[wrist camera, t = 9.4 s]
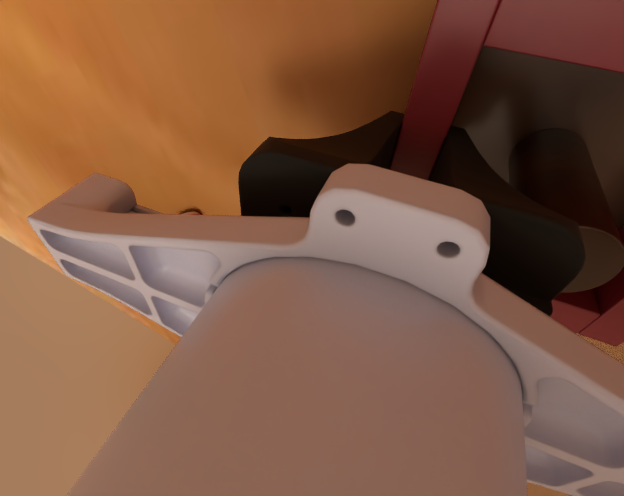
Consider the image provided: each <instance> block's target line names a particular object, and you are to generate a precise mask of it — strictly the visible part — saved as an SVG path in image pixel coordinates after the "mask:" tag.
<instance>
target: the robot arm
mask: <svg viewBox="0 0 624 496" xmlns="http://www.w3.org/2000/svg"><path fill="white" fill-rule="evenodd" d="M404 115H405V114H402V113H398V112H394V111H390V112H388V113H387V114H385V115H383V116H381V117H380V118H378V119H376V120H374V121H372V122H370V123H368V124H366V125H364V126H362V127H359V128H357V129H355V130H352V131H349V132H346V133H343V134H339V135H335V136H330V137H323V138H316V139H285V138H274V137H269V138H268V139H267V140H265V141H264V142H263V143H262V144H261V145H260V146H259V147H258V148H257V149H256V150H255V151H254V152H253V153H252V155H251V156H250V157H249V158H248V159H247V160H246V161H245V162H244V163H243V164H242V167H241V169H240V172H239V182H238V183H239V194H240V206H241V216H222V215H176V214H163V213H160V212H157V211H155V210H152V209H149V208H146V207H143V206H140V205H137V203H136V198H135V195H134V192H133V191H132V189H131V188H130V187H129V186H128V185H127V184H126V183H124V182H122V181H120V180H117V179H114V178H111V177H108V176H105V175H102V174H99V173H93V174H92V175H90V176H89V177H87V178H86V179H84V180H83V181H81V182H80V183H78V184H77V185H75V186H74V187H72V188H71V189H69V190H68V191H66V192H65V193H63V194H62V195H60V196H59V197H57V198H56V199H54V200H53V201H51V202H50V203H48V204H47V205H45V206H44V207H42V208H41V209H39V210H38V211H36V212H35V213H33V214H32V215H30V216H29V217H28V222H29V223H30V225H31V226H32V228H33V229H34V231H35V232H36V233H37V235H38V236H39V238H40V239H41V241H42V242H43V243H44V245H45V246H46V248H47V249H48V251H49V252H50V253H51V255H52V256H53V258H54V259H55V261H56V262H57V263H58V265H59V266H60V268H61V269H62V270H63V272H64V273H65V275H66V276H67V277H70V278H72V279H74V280H77V281H79V282H81V283H83V284H86V285H88V286H90V287H92V288H94V289H96V290H98V291H100V292H102V293H104V294H106V295H108V296H110V297H112V298H114V299H116V300H118V301H119V302H121V303H123V304H125V305H127V306H128V307H130V308H132V309H134V310H136V311H137V312H139V313H141V314H142V315H144V316H146V317H148V318H149V319H151V320H153V321H154V322H156V323H158V324H160V325H161V326H163V327H165V328H166V329H168V330H170V331H172V332H173V333H175V334H177V335H178V336H180V337H181V339H180V340H179V341H178V343H177V344H176V346H175V347H174V348H173V350H172V351H171V352H170V354H169V355H168V357H167V358H166V359H165V361H164V362H163V363H162V365H161V366H160V367H159V369H158V370H157V372H156V373H155V374H154V376H153V377H152V379H151V380H150V381H149V383H148V384H147V385H146V387H145V388H144V389H143V391H142V392H141V394H140V395H139V396H138V398H137V399H136V400H135V402H134V403H133V405H132V406H131V407H130V409H129V410H128V412H127V413H126V414H125V415H124V417H123V418H122V420H121V421H120V422H119V424H118V425H117V427H116V428H115V429H114V431H113V432H112V433H111V435H110V436H109V438H108V439H107V440H106V442H105V443H104V444H103V446H102V447H101V449H100V450H99V451H98V453H97V454H96V455H95V457H94V458H93V460H92V461H91V462H90V463H89V465H88V466H87V468H86V469H85V470H84V472H83V473H82V474H81V476H80V477H79V479H78V480H77V481H76V483H75V484H74V485H73V487H72V488H71V490H70V491H69V493H68V494H67V495H66V496H528V494H527V482H530V483H533V484H536V485H540V486H543V487H547V488H550V489H553V490H557V491H560V492H563V493H567V494H570V495H573V496H624V364H622V363H621V362H619V361H618V360H616V359H615V358H613V357H611V356H610V355H608V354H607V353H605V352H604V351H602V350H601V349H599V348H597V347H596V346H594V345H593V344H591V343H590V342H588V341H587V340H585V339H584V338H582V337H580V336H579V335H577V334H576V333H574V332H573V331H571V330H570V329H568V328H566V327H565V326H563V325H562V324H560V323H559V322H557V321H556V320H554V319H552V318H551V317H550V316H551V315H552V312H553V307H552V300H553V299H554V298H555V297H556V296H557V295H558V294H559V293H560V292H561V291H562V290H563V289H564V288H565V287H566V286H567V285H568V284H570V283H571V282H572V281H573V280H574V279H575V278H576V276H577V275H578V274H579V272H580V271H581V270H582V268H583V266H584V262H585V259H586V254H585V248H584V243H583V239H582V235H581V232H580V228H579V225H578V223H577V221H575V220H572V219H570V218H568V217H565V216H563V215H561V214H559V213H556V212H554V211H552V210H550V209H548V208H546V207H544V206H542V205H540V204H538V203H536V202H535V201H533V200H531V199H530V198H528V197H526V196H525V195H523V194H522V193H520V192H519V191H518V190H516V189H515V188H513V187H512V186H511V185H509V184H508V183H507V182H506V181H505V180H504V179H502V178H501V177H500V176H499V175H498V174H497V173H496V172H495V171H494V170H493V169H492V168H491V167H490V165H489V164H488V163H487V162H486V160H485V159H484V158H483V157H482V155H481V154H480V152H479V151H478V149H477V148H476V146H475V145H474V143H473V142H472V140H471V138H470V136H469V135H468V133H467V131H466V130H465V129H464V128H460V127H456V126H452V125H451V126H450V129H449V131H448V134H447V136H446V139H445V141H444V144H443V146H442V149H441V151H440V154H439V156H438V159H437V161H436V164H435V166H434V169H433V171H432V174H431V176H430V179H429V181H428V180H424V179H421V178H417V177H414V176H410V175H406V174H403V173H399V172H395V171H392V170H389V167H390V164H391V160H392V157H393V153H394V150H395V146H396V143H397V139H398V136H399V132H400V129H401V125H402V122H403V118H404Z"/></svg>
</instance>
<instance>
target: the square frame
mask: <svg viewBox="0 0 624 496" xmlns="http://www.w3.org/2000/svg"><path fill="white" fill-rule="evenodd" d="M482 45H483V46H485V47H490V48H495V49H500V50H506V51H511V52H516V53H521V54H526V55H531V56H536V57H541V58H546V59H552V60H557V61H562V62H567V63H572V64H577V65H582V66H587V67H593V68H598V69H603V70H608V71H613V72H618V73H623V74H624V0H437V3H436V7H435V10H434V14H433V17H432V21H431V24H430V28H429V31H428V35H427V38H426V42H425V45H424V49H423V52H422V56H421V59H420V63H419V66H418V70H417V73H416V77H415V80H414V84H413V87H412V91H411V94H410V98H409V101H408V105H407V108H406V111H405V115H404V118H403V122H402V125H401V129H400V132H399V136H398V139H397V143H396V146H395V150H394V153H393V157H392V160H391V164H390V167H389V170H392V171H395V172H399V173H403V174H406V175H410V176H414V177H417V178H421V179H424V180H428V181H429V179H430V176H431V174H432V171H433V169H434V166H435V164H436V161H437V159H438V156H439V154H440V151H441V149H442V146H443V144H444V141H445V139H446V136H447V134H448V131H449V129H450V126H451V124H452V121H453V119H454V116H455V113H456V111H457V108H458V106H459V103H460V101H461V98H462V96H463V93H464V91H465V88H466V86H467V83H468V81H469V78H470V76H471V73H472V71H473V68H474V66H475V63H476V61H477V58H478V56H479V53H480V51H481V48H482ZM618 232H619V235H620V237H621V240H622V243H623V245H624V226H623V227H622V228H621V229H620V230H619V231H618ZM552 307H553V312H552V315H551V316H550V317H551V318H552V319H554V320H556V321H557V322H559V323H560V324H562V325H563V326H565V327H566V328H568V329H570V330H571V331H573V332H575V333H579V334H580V335H583V336H586V337H589V338H592V339H595V340H598V341H601V342H604V343H607V344H610V345H613V346H618V345H619V344H621V343H622V342H624V266H623V268H622V270H621V271H620V272H619V273H618V274H617V275H616V276H615V277H614V278H613V279H611V280H610V281H608V282H607V283H605V284H603V285H601V286H598V287H595V288H593V289H589V290H585V291H579V292H560V293H559V294H558V295H557V296H556V297H555V298H554V299H553V300H552Z"/></svg>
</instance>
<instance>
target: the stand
mask: <svg viewBox="0 0 624 496" xmlns="http://www.w3.org/2000/svg"><path fill="white" fill-rule="evenodd" d="M451 125H452V126H456V127H460V128H464V129H465V130H466V131H467V133H468V135H469V136H470V138H471V140H472V142H473V143H474V145H475V146H476V148H477V149H478V151H479V152H480V154H481V155H482V157H483V158H484V159H485V160H486V162H487V163H488V164H489V165H490V167H491V168H492V169H493V170H494V171H495V172H496V173H497V174H498V175H499V176H500V177H501V178H502V179H504V180H505V181H506V182H507V183H508V184H509V185H511V186H512V187H513V188H515V189H516V190H518V191H519V192H520V193H522V194H523V195H525V196H526V197H528V198H530V199H531V200H533V201H535V202H536V203H538V204H540V205H542V206H544V207H546V208H548V209H550V210H552V211H554V212H556V213H559V214H561V215H563V216H565V217H568V218H570V219H572V220H575V221H577V223H578V225H579V228H580V232H581V235H582V239H583V243H584V248H585V254H586V259H585V262H584V266H583V268H582V270H581V271H580V272H579V274H578V275H577V276H576V278H575V279H574V280H573V281H572V282H571V283H570V284H568V285H567V286H566V287H565V288H564V289H563V290H562V291H561V292H579V291H585V290H589V289H593V288H595V287H598V286H601V285H603V284H605V283H607V282H608V281H610V280H611V279H613V278H614V277H615V276H616V275H617V274H618V273H619V272H620V271H621V270H622V268H623V266H624V245H623V243H622V240H621V237H620V235H619V232H618V231H619V230H620V229H621V228H622V227H623V226H624V74H623V73H618V72H613V71H608V70H603V69H598V68H593V67H587V66H582V65H577V64H572V63H567V62H562V61H557V60H552V59H546V58H541V57H536V56H531V55H526V54H521V53H516V52H511V51H506V50H500V49H495V48H490V47H485V46H483V45H482V48H481V51H480V53H479V56H478V58H477V61H476V63H475V66H474V68H473V71H472V73H471V76H470V78H469V81H468V83H467V86H466V88H465V91H464V93H463V96H462V98H461V101H460V103H459V106H458V108H457V111H456V113H455V116H454V119H453V121H452V124H451Z"/></svg>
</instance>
